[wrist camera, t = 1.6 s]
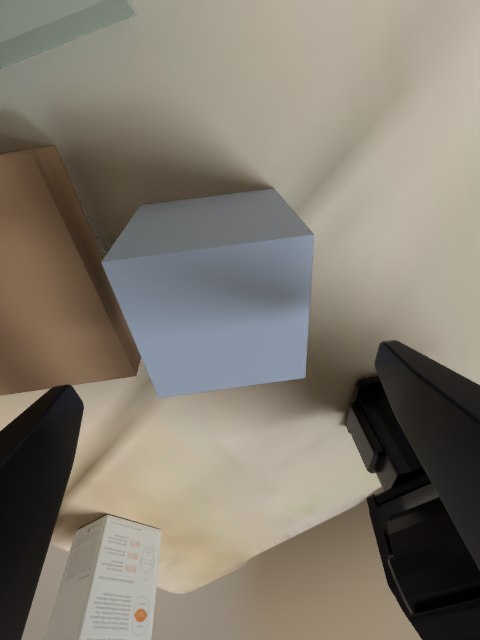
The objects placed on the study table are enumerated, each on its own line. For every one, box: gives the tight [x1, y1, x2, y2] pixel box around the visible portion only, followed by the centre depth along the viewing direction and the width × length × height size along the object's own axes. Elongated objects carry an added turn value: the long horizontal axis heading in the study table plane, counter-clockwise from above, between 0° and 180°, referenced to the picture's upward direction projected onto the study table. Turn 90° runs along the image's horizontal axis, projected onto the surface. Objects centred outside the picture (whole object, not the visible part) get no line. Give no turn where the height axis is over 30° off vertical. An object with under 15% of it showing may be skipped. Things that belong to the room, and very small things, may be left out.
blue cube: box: [101, 188, 314, 398], centre depth 12 cm, size 6×6×6 cm
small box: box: [44, 515, 162, 640], centre depth 29 cm, size 8×6×10 cm
